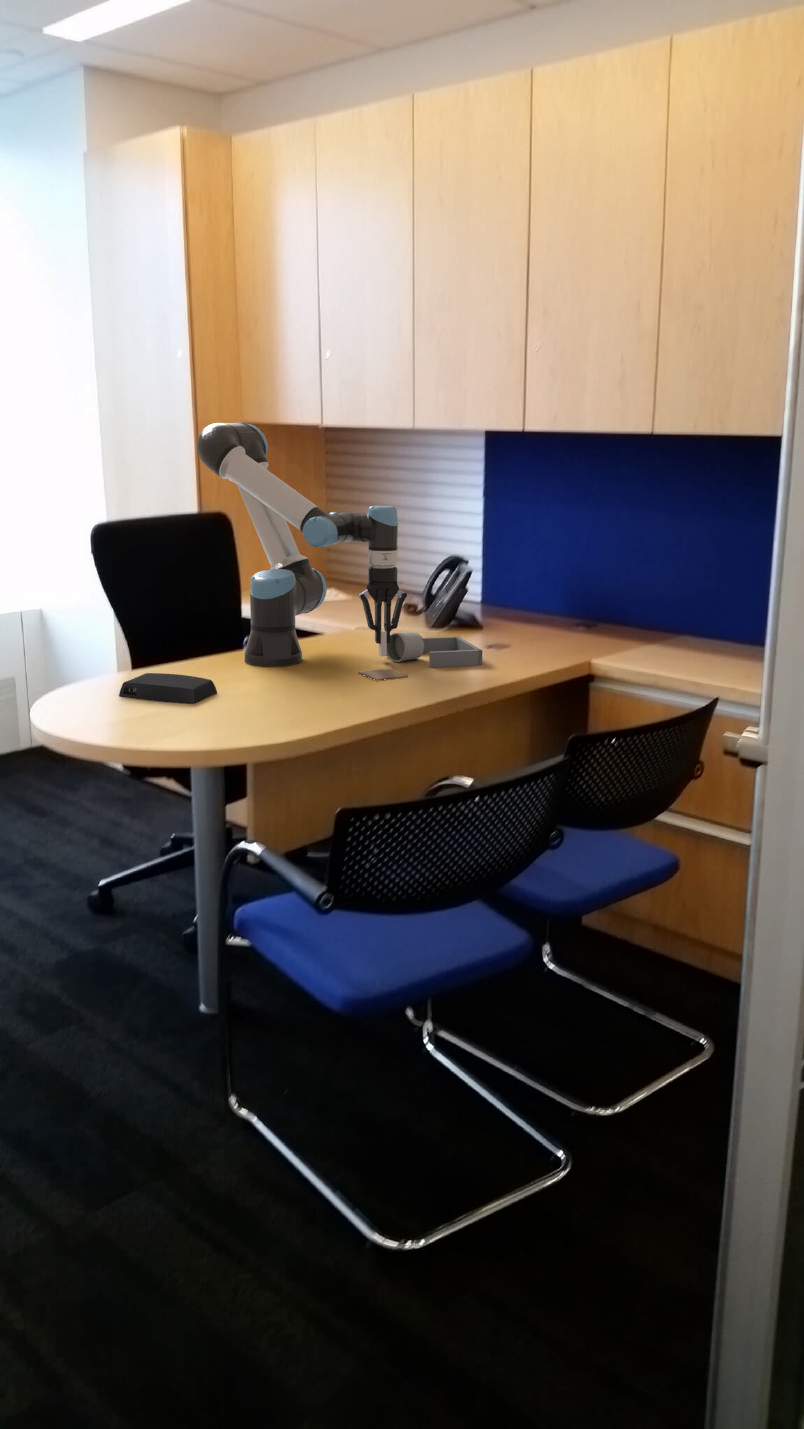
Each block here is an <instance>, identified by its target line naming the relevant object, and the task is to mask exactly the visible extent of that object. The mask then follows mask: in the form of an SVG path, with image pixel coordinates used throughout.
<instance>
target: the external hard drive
mask: <svg viewBox="0 0 804 1429" xmlns="http://www.w3.org/2000/svg"><path fill="white" fill-rule="evenodd" d="M120 687H121V688H120V690H119V693H118V697H121V698H127V699H134V700H141V701H142V700H143V701H149V702H159V703H169V704H180V705H183V704H184V705H195V704H198V703H200V702H202V701H203V700H206V699H208V698H210V697H212V696H214V695H216V694H218V691H217V687H216V685H215V683H214V681H213V680H212V679H208V678H206V677H205V678H204V677H199V676H192V675H185V674H177V673H176V674H175V673H165V672H164V673H161V672H160V673H159V672H157V673H156V672H147V673H143V674H141V675H139V676H137V677H134V678H131V679H129V680H126V681H124V682H123V683H122V684H121V686H120Z"/></svg>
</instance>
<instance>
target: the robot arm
mask: <svg viewBox="0 0 804 1429" xmlns="http://www.w3.org/2000/svg"><path fill="white" fill-rule="evenodd" d="M268 449H269V446H268V441H267V437H266V436H265V434H264V433H263V432H262V431H261V430H260V429H259V428H258V427H257V426H256V425H252V424H249V423H246V422H233V423H232V422H231V423H229V422H228V423H227V422H225V423H224V422H215V423H212V424H208V425H207V426H205V427H204V428H203V429H202V431H201V432H200V433H199V435H198V438H197V440H196V451H197V455H198V458H199V460H200V461H201V462H202V463H203V464H204V466H205V467H206V468H208V469H209V470H210V471H212V472H213V473H214V474H216V475H217V476H218V477H220V478H221V479H223V480H228V481H229V482H232V483H234V484H236V486H237V488H238V491H239V493H240V496H241V498H242V501H243V503H244V505H245V508H246V509H247V513H248V514H249V518H250V519H251V522H252V525H253V527H254V529H255V532H256V534H257V537H258V539H259V541H260V544H261V546H262V548H263V551H264V553H265V556H266V557H267V561H268V562H269V565H270V568H269V569H268V570H267V569H265V570H261V571H258V572H256V573H254V574H253V575H252V576H251V578H250V584H249V585H250V586H249V600H250V601H249V602H250V604H249V606H250V608H249V609H250V634H249V636H248V641H247V643H246V646H245V649H244V662H245V663H246V664H249V665H253V666H260V667H286V666H287V667H288V666H293V665H297V664H301V662H302V661H303V651H302V648H301V646H300V645H301V644H300V642H299V639H298V636H297V632H296V616H300V615H303V614H309V613H310V612H312V611H314V610H316V609H318V608H319V607H320V606H321V605H322V604H323V603H324V601H325V598H326V596H327V583H326V580H325V578H324V575H323V574H322V573H321V572H320V571H319V570H317V569H315V568H314V567H312V564H311V562H310V559H309V557H307V556H305V555H302V554H301V553H300V551H299V548H298V546H297V544H296V541H295V539H294V536H293V534H292V531H291V530H290V529H291V528H290V526H289V524H290V525H292V526H293V527H294V528H296V529H297V530H298V531H300V532H301V533H302V535H303V538H304V540H305V541H306V543H307V545H309V546H312V547H314V548H328V547H330V546H333V545H334V546H335V545H339V544H344V543H351V542H352V543H353V542H355V543H367V544H368V565H369V567H368V584H367V585H366V589H365V590H364V591H362V592H359V593H358V598H359V599H360V600H361V602H362V606H363V610H364V614H365V618H366V619H365V620H366V624H367V626H368V629H370V630H372V631H374V636H375V637H374V640H375V643H376V644H378V655H379V656H380V657H387V656H386V643H390V635H391V632H392V631H393V630H394V629H395V630H396V629H398V626H399V622H400V617H401V613H402V610H403V606H404V601H405V600H406V599H407V598H408V593H407V592H405V591H402V590H401V589H400V587H399V583H398V568H397V565H398V533H399V532H398V531H399V529H398V528H399V521H398V509H397V508H396V507H395V506H393V505H370V506H369V507H368V511H367V512H363V513H362V512H349V511H348V512H347V511H331V512H329V513H327V512H325V511H324V510H323V509H321V507H319V506H317V504H315V503H313V502H312V501H311V500H310V499H308V498H307V497H305V496H303V495H302V494H301V493H299V491H297V490H295V489H294V488H293V487H291V486H290V485H288V484H287V483H286V482H284V481H283V480H282V479H281V478H279V477H278V476H276V475H275V474H273V473H272V472H271V471H269V470H268V467H269V461H268V459H267V456H268V453H267V452H268V451H269V450H268ZM288 523H289V524H288ZM369 595H370V597H371V598H372V600H373V604H374V620H373V614H372V609H371V607H370V606H371V605H370V602H369V598H370V597H369ZM395 596H396V602H395V606H394V609H393V613H392V612H391V611H392V610H391V609H392V600H394V597H395ZM382 605H383V629H382Z"/></svg>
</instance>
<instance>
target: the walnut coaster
mask: <svg viewBox="0 0 804 1429" xmlns="http://www.w3.org/2000/svg"><path fill="white" fill-rule="evenodd" d="M359 673H360V674H361V675H360V674H359ZM358 674H359V675H360V676H363V675H365V676H366V678H368V677H370V678H372V679H371V680H373V679H375V680H382V681H385V680H384V679H390V680H395V679H397V678H398V679H404V678H405V677H406V678H408V674H405V673H402V672H399V671H396V670H394V669H391V668H383V669H376V670H366V671H358ZM365 676H364V677H365ZM370 678H369V679H370ZM406 678H405V679H406ZM375 680H374V681H375Z"/></svg>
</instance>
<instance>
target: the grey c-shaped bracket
mask: <svg viewBox="0 0 804 1429" xmlns="http://www.w3.org/2000/svg"><path fill="white" fill-rule="evenodd" d="M422 638H423V641H424V652H423V654H427V653H428V654H429V657H428V658H429V660H428V666H429V667H428V668H451V667H453V668H454V667H476V666H479V667H480V666H483V650H482V649H481V648H479V647H477V646H476V645H474V644H472V643H470V642H469V641H467V640H465V639H463V638H462V637H461V636H440V637H439V636H437V637H436V636H435V637H422Z"/></svg>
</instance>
